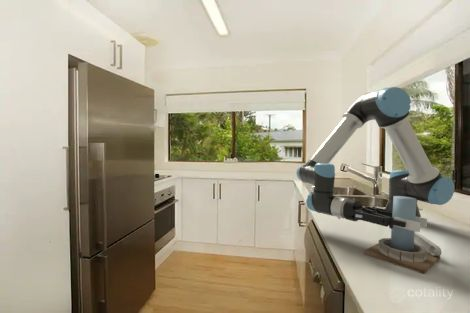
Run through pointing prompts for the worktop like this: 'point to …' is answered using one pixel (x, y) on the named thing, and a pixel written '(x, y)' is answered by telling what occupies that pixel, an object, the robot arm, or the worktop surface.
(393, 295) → the worktop surface
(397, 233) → the post
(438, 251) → the wrench
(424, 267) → the collar board
